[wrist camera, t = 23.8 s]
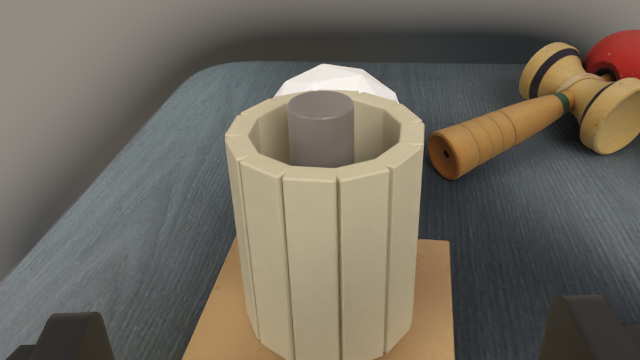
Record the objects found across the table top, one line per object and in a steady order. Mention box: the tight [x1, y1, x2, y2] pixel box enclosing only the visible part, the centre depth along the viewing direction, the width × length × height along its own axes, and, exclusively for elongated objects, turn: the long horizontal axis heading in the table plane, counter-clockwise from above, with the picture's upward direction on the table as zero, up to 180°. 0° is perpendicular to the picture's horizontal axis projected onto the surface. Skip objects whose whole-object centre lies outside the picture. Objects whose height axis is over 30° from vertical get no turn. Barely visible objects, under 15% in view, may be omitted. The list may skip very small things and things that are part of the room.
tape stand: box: [182, 91, 455, 360], centre depth 23 cm, size 10×10×10 cm
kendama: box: [428, 30, 640, 180], centre depth 38 cm, size 8×6×18 cm
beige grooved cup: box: [225, 89, 424, 360], centre depth 23 cm, size 7×7×8 cm
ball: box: [273, 64, 399, 104], centre depth 32 cm, size 8×8×8 cm
